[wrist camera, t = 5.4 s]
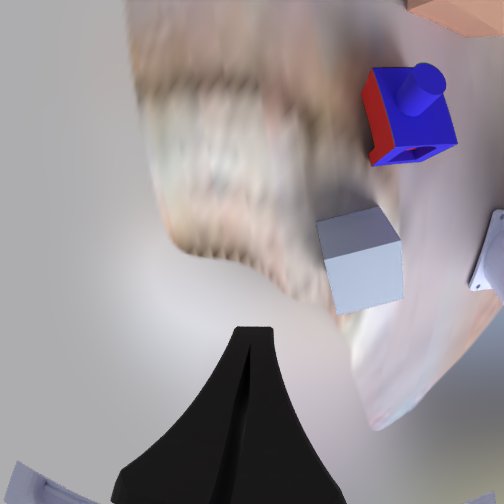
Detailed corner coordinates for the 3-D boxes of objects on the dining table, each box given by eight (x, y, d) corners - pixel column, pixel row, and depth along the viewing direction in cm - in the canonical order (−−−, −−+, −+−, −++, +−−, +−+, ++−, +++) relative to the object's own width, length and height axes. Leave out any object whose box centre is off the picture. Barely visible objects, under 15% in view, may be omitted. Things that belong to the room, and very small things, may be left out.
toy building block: (405, 102, 16) (453, 43, 8) (421, 162, 16) (486, 130, 8) (356, 104, 16) (383, 37, 8) (371, 167, 17) (416, 131, 9)
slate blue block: (378, 205, 18) (401, 240, 15) (385, 258, 21) (403, 298, 17) (315, 221, 20) (324, 260, 16) (328, 273, 22) (337, 315, 18)
